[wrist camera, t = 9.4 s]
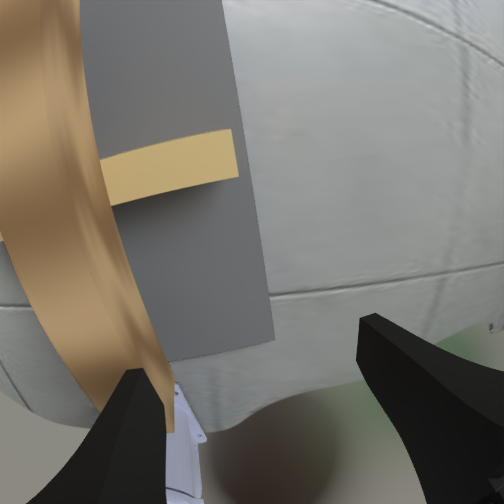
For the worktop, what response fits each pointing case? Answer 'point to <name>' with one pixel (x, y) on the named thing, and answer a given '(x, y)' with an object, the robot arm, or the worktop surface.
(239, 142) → the ridge stand
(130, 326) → the oak beam
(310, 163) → the worktop surface
